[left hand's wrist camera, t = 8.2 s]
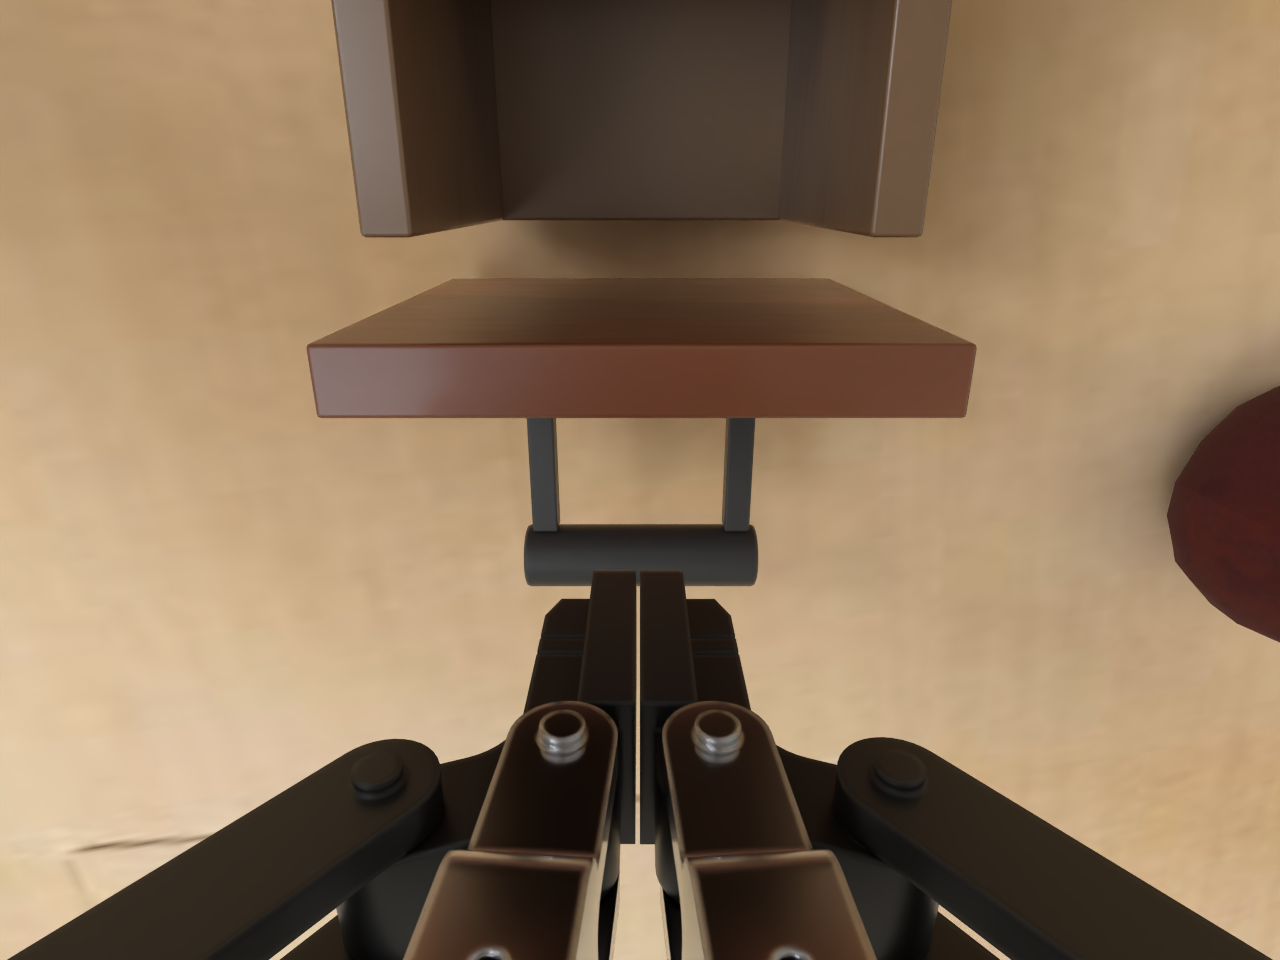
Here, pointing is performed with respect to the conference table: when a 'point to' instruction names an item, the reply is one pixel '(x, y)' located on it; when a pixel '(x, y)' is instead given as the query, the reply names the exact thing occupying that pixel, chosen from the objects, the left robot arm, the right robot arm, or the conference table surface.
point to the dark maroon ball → (1234, 516)
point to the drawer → (641, 190)
